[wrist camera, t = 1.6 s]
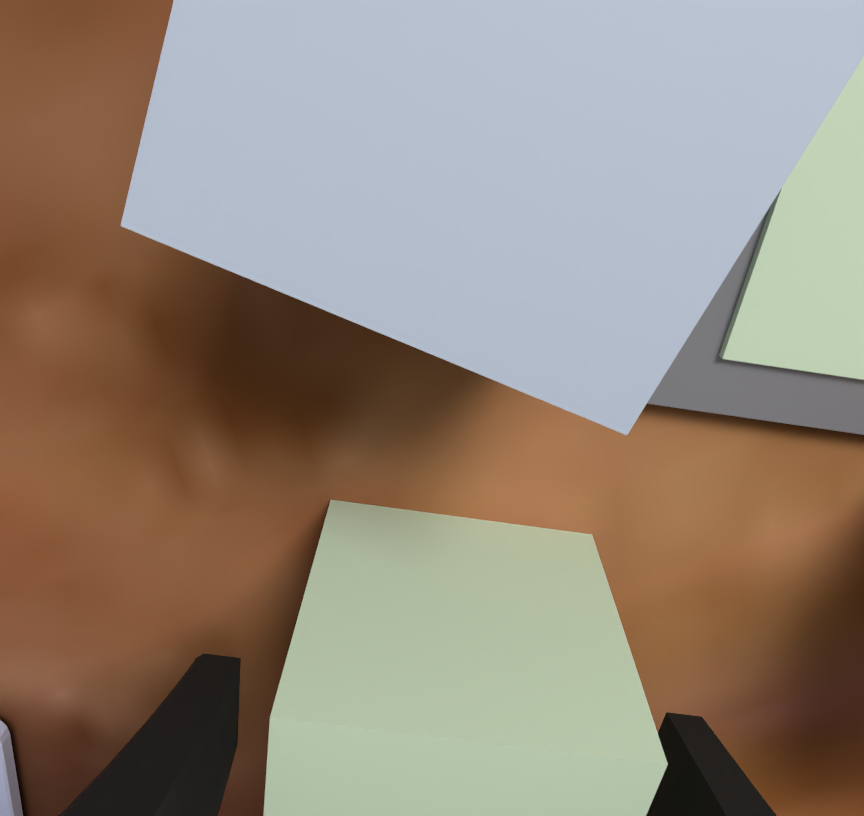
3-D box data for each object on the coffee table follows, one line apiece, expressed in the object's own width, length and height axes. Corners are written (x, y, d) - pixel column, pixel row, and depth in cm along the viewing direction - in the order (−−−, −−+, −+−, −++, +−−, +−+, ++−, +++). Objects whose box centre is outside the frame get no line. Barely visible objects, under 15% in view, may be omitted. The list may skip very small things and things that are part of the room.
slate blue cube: (260, 166, 10) (120, 226, 6) (381, -226, 9) (310, -580, 4) (553, 295, 11) (626, 434, 7) (726, -37, 9) (995, -155, 5)
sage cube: (311, 689, 15) (254, 949, 11) (331, 497, 13) (269, 717, 8) (537, 717, 15) (575, 982, 11) (591, 532, 13) (668, 763, 9)
